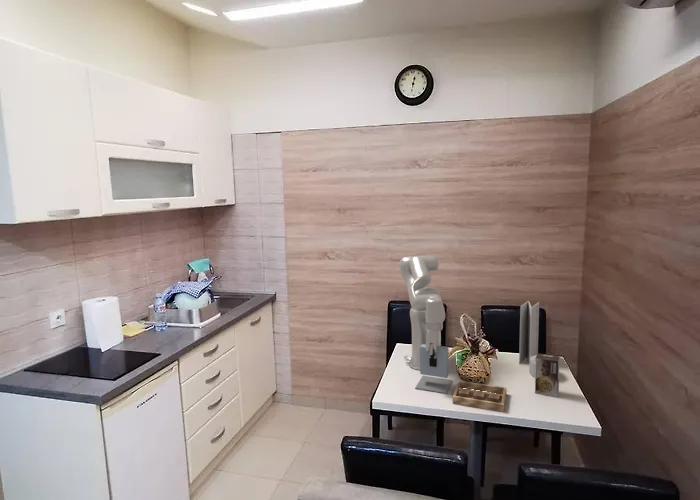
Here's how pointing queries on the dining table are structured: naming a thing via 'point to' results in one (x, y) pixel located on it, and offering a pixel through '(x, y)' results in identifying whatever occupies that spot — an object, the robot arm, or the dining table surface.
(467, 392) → the offcut
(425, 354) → the panel
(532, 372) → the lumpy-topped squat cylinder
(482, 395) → the offcut
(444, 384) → the mat
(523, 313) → the brochure
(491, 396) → the offcut
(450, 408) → the dining table surface
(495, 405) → the tray
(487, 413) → the dining table surface
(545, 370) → the cookie box
